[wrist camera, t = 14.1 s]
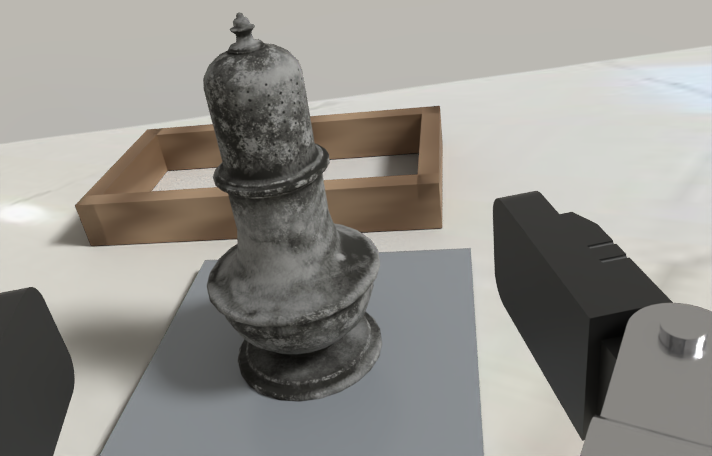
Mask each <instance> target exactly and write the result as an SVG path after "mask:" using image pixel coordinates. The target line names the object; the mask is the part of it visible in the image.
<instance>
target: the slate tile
mask: <svg viewBox="0 0 712 456" xmlns="http://www.w3.org/2000/svg"><path fill="white" fill-rule="evenodd" d="M378 253H379V259H380V268H379V271H378V274H377V278H376V279H375V281H374V282H373V285H374V286H373V290H372V293H371V296H370V300H369V303H368V306H367V309H366V312H367V313H368V314H369V315H371V316H372V317H373V318H374V319H375V321H376V323H377V324H378V326H379V328H380V330H381V338H382V348H381V352H380V356H379V358H378V360H377V361H376V363H375V364H374V366H373V368H372V369H371V371H369V372H368V373H367V374H366V375H365V376H364V377H363V378H362V379H361V380H359V381H358V382H357V383H355V384H354V385H352V386H350V387H348V388H347V389H345V390H343V391H341V392H339V393H336V394H333V395H330V396H327V397H324V398H321V399H314V400H307V401H285V400H278V399H274V398H271V397H268V396H264V395H262V394H261V393H259V392H257V391H256V390H254V389H253V388H251V387H250V386H249V385H248V384H247V382H246V381H245V380H244V378H243V377H242V375H241V372H240V368H239V364H238V355H239V348H240V346H241V344H242V343H243V341H244V338H243V337H242V336H241V335H240V334H239V333H238V332H237V331H236V330H235V329H234V328H233V326H232V325H231V324H230V323H229V322H228V320H227V319H226V318H225V315H223V314H222V313H220V312H219V311H218V310H217V309H216V308H215V306H214V305H213V304H212V303H211V302H210V299H209V295H208V290H207V282H208V278H209V274H210V272H211V270H212V269H213V267H214V266H215V264H216V263H217V261H218V260H205V261H204V263H203V265H202V267H201V269H200V271H199V272H198V274H197V276H196V278H195V280H194V282H193V284H192V285H191V287H190V289H189V291H188V293H187V295H186V296H185V298H184V300H183V302H182V304H181V306H180V308H179V309H178V311H177V313H176V315H175V317H174V319H173V320H172V322H171V324H170V326H169V328H168V330H167V332H166V333H165V335H164V337H163V339H162V341H161V343H160V345H159V346H158V348H157V350H156V352H155V354H154V356H153V357H152V359H151V361H150V363H149V365H148V367H147V369H146V370H145V372H144V374H143V376H142V378H141V380H140V381H139V383H138V385H137V387H136V389H135V391H134V393H133V394H132V396H131V398H130V400H129V402H128V404H127V406H126V407H125V409H124V411H123V413H122V415H121V417H120V418H119V420H118V422H117V424H116V426H115V428H114V430H113V431H112V433H111V435H110V437H109V439H108V441H107V442H106V444H105V446H104V448H103V450H102V452H101V454H100V455H99V456H484V452H483V436H482V420H481V404H480V388H479V373H478V357H477V341H476V325H475V310H474V294H473V278H472V262H471V248H464V249H443V250H421V251H399V252H378Z"/></svg>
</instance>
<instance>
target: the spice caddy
mask: <svg viewBox="0 0 712 456" xmlns="http://www.w3.org/2000/svg"><path fill="white" fill-rule="evenodd" d="M310 119H311V125H312V131H313V136H314V142H315V143H316V144H318V145H320V146H322V147H324V148H325V149H326V150H327V152H328V153H329V159H339V158H354V157H368V156H382V155H396V154H411V153H419V161H418V174H414V175H399V176H384V177H368V178H353V179H337V180H324V186H325V192H326V198H327V204H328V210H329V213H330V215H331V218H332V220H333V223H334V224H340V225H344V226H347V227H350V228H352V229H355V230H358V231H359V232H374V231H393V230H413V229H432V228H442V130H441V115H440V106H432V107H420V108H408V109H395V110H383V111H371V112H358V113H346V114H334V115H321V116H310ZM221 163H222V159H221V155H220V151H219V147H218V143H217V139H216V135H215V131H214V127H213V124H210V125H198V126H186V127H173V128H161V129H149V130H147V131H146V132H145V133H144V134H143V135H142V136H141V137H140V138H139V139H138V140H137V141H136V142H135V143H134V144H133V145H132V146H131V147H130V148H129V149H128V150H127V151H126V153H125V154H124V155H123V156H122V157H121V158H120V159H119V160H118V161H117V162H116V163H115V164H114V165H113V166H112V167H111V168H110V169H109V170H108V171H107V172H106V173H105V175H104V176H103V177H102V178H101V179H100V180H99V181H98V182H97V183H96V184H95V185H94V186H93V187H92V188H91V189H90V190H89V191H88V192H87V193H86V194H85V195H84V197H83V198H82V199H81V200H80V201H79V202H78V203H77V204H76V205H75V207H76V210H77V212H78V215H79V217H80V220H81V222H82V225H83V227H84V230H85V232H86V235H87V237H88V240H89V242H90V245H91V246H100V245H119V244H139V243H158V242H178V241H197V240H217V239H237V227H236V223H235V219H234V216H233V212H232V208H231V204H230V200H229V196H228V193H226V192H223V191H221V190H220V189H219V188H218V187H214V188H198V189H183V190H167V191H152V190H153V188H154V187H155V186H156V184H157V183H158V182H159V181H160V179H161V178H162V177H163V176H164V174H165V173H166V172H167V171H168V170H182V169H196V168H211V167H218V166H219V165H220V164H221ZM151 191H152V192H151Z"/></svg>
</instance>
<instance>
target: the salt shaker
mask: <svg viewBox="0 0 712 456" xmlns="http://www.w3.org/2000/svg"><path fill="white" fill-rule="evenodd" d="M236 17H237V18H236V19H234V21H233V25H234V27H233V28H231V29H230V31H231V32H233V33H234V34H236V43H234V44H232V45H231V46H230V47H229V49H228V51H226V52H224V53H222V54H220V55H219V56H218V57H217V58H216V59H215V60H214V61H213V62H212V63H211V64H210V65H209V67H208V69H207V71H206V73H205V76H204V80H203V81H204V91H205V95H206V100H207V103H208V107H209V111H210V115H211V119H212V123H213V127H214V131H215V135H216V139H217V143H218V147H219V151H220V155H221V159H222V163H221V164H220V165H219V166H218V167H217V168H216V170H215V172H214V176H213V179H214V182H215V185H216V186H217V187H218V188H219V189H220V190H221V191H223V192H226V193H228V196H229V200H230V204H231V208H232V212H233V216H234V219H235V223H236V227H237V238H238V244H237V245H235V246H233V247H232V248H231V249H229V250H228V251H227V252H226V253H225V254H224V255H223V256H222V257H221V258H220V259H219V260H218V261H217V263H216V264H215V266H214V267H213V269H212V270H211V272H210V274H209V278H208V282H207V290H208V295H209V299H210V302H211V303H212V304H213V305H214V306H215V308H216V309H217V310H218V311H219V312H220V313H222V314H223V315H225V318H226V319H227V320H228V322H229V323H230V324H231V325H232V326H233V328H234V329H235V330H236V331H237V332H238V333H239V334H240V335H241V336H242V337H243V338H244V341H243V343H242V344H241V346H240V348H239V355H238V364H239V368H240V372H241V375H242V377H243V378H244V380H245V381H246V382H247V384H248V385H249V386H250V387H251V388H253V389H254V390H256V391H257V392H259V393H261V394H262V395H264V396H268V397H271V398H274V399H278V400H285V401H307V400H314V399H321V398H324V397H327V396H330V395H333V394H336V393H339V392H341V391H343V390H345V389H347V388H348V387H350V386H352V385H354V384H355V383H357V382H358V381H359V380H361V379H362V378H363V377H364V376H365V375H366V374H367V373H368V372H369V371H371V369H372V368H373V366H374V364H375V363H376V361H377V360H378V358H379V356H380V352H381V348H382V338H381V330H380V328H379V326H378V324H377V323H376V321H375V319H374V318H373V317H372V316H371V315H369V314H368V313H367V312H366V309H367V306H368V303H369V300H370V296H371V293H372V290H373V286H374V285H373V282H374V281H375V279H376V278H377V274H378V271H379V268H380V259H379V253H378V249H377V248H376V246H375V245H374V243H373V242H372V241H371V239H369V238H368V237H366V236H365V235H363V234H362V233H361V232H359V231H358V230H355V229H352V228H350V227H347V226H344V225H340V224H334V223H333V220H332V218H331V215H330V213H329V210H328V204H327V198H326V192H325V186H324V180H323V174H322V173H323V172H324V171H325V170H326V168H327V166H328V165H329V163H330V160H329V153H328V152H327V150H326V149H325V148H324V147H322V146H320V145H318V144H316V143H315V142H314V136H313V131H312V125H311V119H310V113H309V107H308V102H307V97H306V90H305V84H304V78H303V73H302V69H301V66H300V64H299V61H298V60H297V59H296V58H295V57H294V56H293V55H292V54H291V53H290V52H289V51H288V50H286V49H284V48H281V47H279V46H277V45H274V44H265V43H263V42H262V41H261V40H259V39H253V36H252V34H251V31H252V30H253V28H254V27H255V25H254V24H250V22H249V20H248V18H247V17H244V16H243V14H242V13H237V15H236Z"/></svg>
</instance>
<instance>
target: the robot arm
mask: <svg viewBox="0 0 712 456" xmlns="http://www.w3.org/2000/svg"><path fill="white" fill-rule="evenodd" d="M493 231H494V263H495V278H496V284H497V288H498V292H499V295H500V298H501V300H502V303H503V305H504V307H505V308H506V310H507V312H508V314H509V315H510V317H511V319H512V321H513V322H514V324H515V326H516V327H517V329H518V331H519V333H520V334H521V336H522V338H523V339H524V341H525V343H526V345H527V346H528V348H529V350H530V351H531V353H532V355H533V357H534V358H535V360H536V362H537V364H538V365H539V367H540V369H541V370H542V372H543V374H544V376H545V377H546V379H547V381H548V382H549V384H550V386H551V388H552V389H553V391H554V393H555V395H556V396H557V398H558V400H559V401H560V403H561V405H562V407H563V408H564V410H565V412H566V413H567V415H568V417H569V419H570V420H571V422H572V424H573V425H574V427H575V429H576V431H577V432H578V434H579V436H580V438H581V439H582V441H583V440H585V441H584V445H583V448H582V451H581V455H580V456H712V312H711V311H709V310H707V309H704V308H701V307H698V306H693V305H689V304H681V303H673V302H672V301H671V300H670V299H669V298H668V297H667V296H666V295H665V294H664V293H663V292H662V291H661V290H660V289H659V288H658V287H657V286H656V285H655V284H654V283H653V282H652V280H651V279H650V278H649V277H648V276H647V275H646V274H645V273H644V272H643V271H642V270H641V269H640V268H639V267H638V266H637V265H636V264H635V263H634V262H633V261H632V260H631V259H630V258H627V257H626V253H625V252H624V251H623V250H622V249H621V248H620V247H619V246H618V245H617V244H614V243H613V240H612V239H611V238H610V237H609V236H608V235H607V234H606V233H605V232H604V231H603V230H602V229H601V227H600V226H599V225H598V224H596V223H594V222H592V221H590V220H588V219H586V218H584V217H582V216H579V215H577V214H575V213H573V212H569V213H564V214H559V213H558V212H557V211H556V210H555V209H554V208H553V207H552V205H551V204H550V203H549V202H548V201H547V200H546V199H545V197H544V196H543V195H542V194H541V193H540V192H538V191H533V192H528V193H523V194H517V195H512V196H507V197H502V198H497V199H495V201H494V205H493ZM73 390H74V368H73V363H72V360H71V357H70V354H69V352H68V350H67V348H66V345H65V343H64V341H63V339H62V337H61V335H60V333H59V330H58V328H57V326H56V324H55V322H54V320H53V317H52V315H51V313H50V311H49V309H48V307H47V305H46V302H45V300H44V298H43V296H42V295H41V293H40V292H39V291H38V290H37V289H36V288H33V287H29V288H24V289H18V290H13V291H8V292H3V293H0V456H53V454H54V451H55V448H56V444H57V441H58V438H59V435H60V432H61V429H62V425H63V422H64V419H65V416H66V413H67V410H68V406H69V403H70V400H71V397H72V394H73Z"/></svg>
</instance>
